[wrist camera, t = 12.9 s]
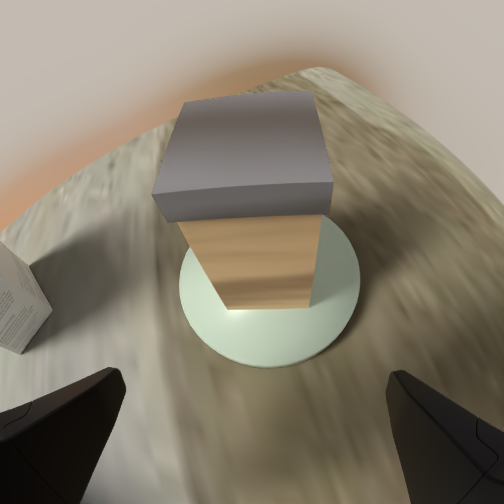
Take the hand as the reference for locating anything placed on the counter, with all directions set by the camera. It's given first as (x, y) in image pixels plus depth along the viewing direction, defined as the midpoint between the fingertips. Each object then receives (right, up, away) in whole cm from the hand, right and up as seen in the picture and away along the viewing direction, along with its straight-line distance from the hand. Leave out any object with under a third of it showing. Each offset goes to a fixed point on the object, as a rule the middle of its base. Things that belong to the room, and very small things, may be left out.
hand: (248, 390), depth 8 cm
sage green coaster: (+1, +2, +12) cm, 12 cm away
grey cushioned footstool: (+1, +3, +11) cm, 11 cm away
